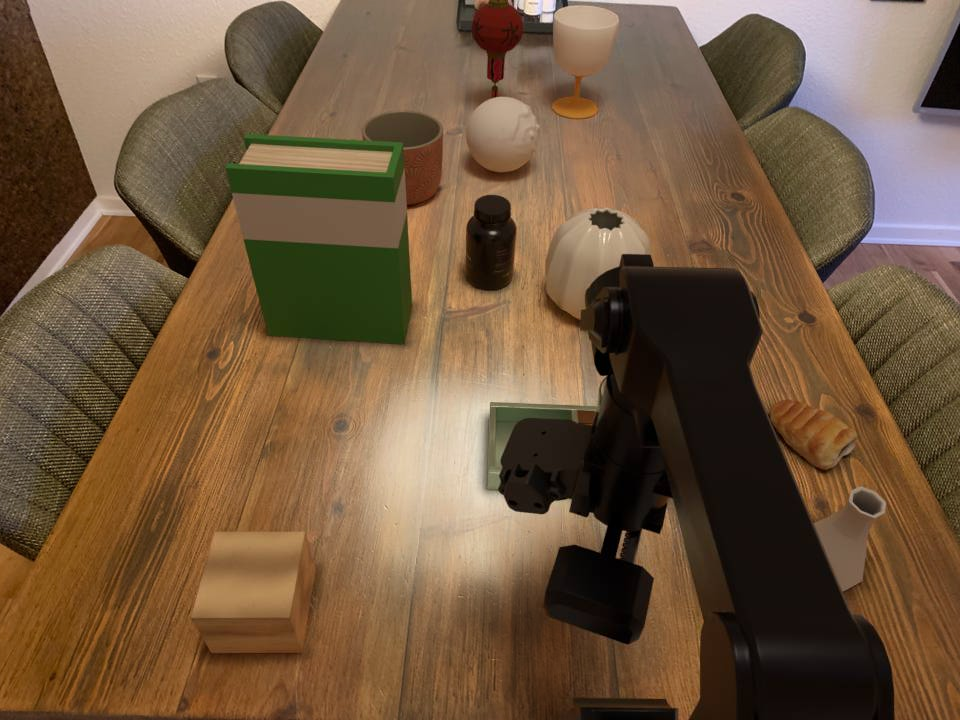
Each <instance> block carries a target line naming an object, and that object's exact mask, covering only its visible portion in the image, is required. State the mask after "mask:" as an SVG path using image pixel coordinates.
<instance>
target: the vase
mask: <svg viewBox="0 0 960 720" xmlns="http://www.w3.org/2000/svg"><path fill="white" fill-rule="evenodd" d="M651 245H652V244H651V241H650V239H649V236H648V234H647V233H646V232H645V231H644V230H643V229H642V228H641V225H640V223H639V222H638V221H637V220H636V219H635V218H633V217H632V216H630V215H628V214H627V213H625V212H624V211H621V210H618V209H614V208H612V207H607V206H602V207H592V208H586V209H583V210H580V211H577V212H575V213H572V214H571V215H570V216H569V218H568V219H567V220H566V221H565V222H563V223H561V224H560V225H559V227H558V228H557V229H556V230H555V232H554V234H553V236H552V238H551V240H550V243H549V247H548V249H547V253H546V256H545V264H544V274H545V275H544V276H545V278H546V282H545V291H546V294H547V295H548V296H549V298H550V299H551V300H552V302H554V303H555V304H556V306H558V307H559V308H560V309H561V310H562V311H565V312H566V313H568V314H569V315H571V316H572V317H574V318H575V319H577V320H579V321H581V310H584V309H586V307H585V293H586V290H587V288H589V287H590V285H591V283H592V282H593V281H594V280H595V279H596V278H597V277H598V276H600V275H601V274H603V273H604V272H606V271H608V270H611V269H613V268H616V267H619V265H620V260H621V255H622V254H650V255H651V256H652V246H651Z"/></svg>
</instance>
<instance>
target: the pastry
mask: <svg viewBox="0 0 960 720" xmlns="http://www.w3.org/2000/svg"><path fill="white" fill-rule="evenodd" d="M769 419H770V421H771V423H772V426H773V428H775V429H776V432H777V433H778V434H780V436H781V437H782V438H783V441H784V442H785V443H786V444H787V446H789V447H790V448H791V449H792V450H793V451H794V452H796V453H797V454H798V455H799V456H801V457H803V458H804V459H805V460H806V461H807V462H808V463H809V464H810V465H812V466H813V467H816V468H818V469H821V470H823V471H828V470H829V469H832V468H834V467H835V466H836V465H837V464H838V463H839V462H840V461H841V459H842V458H843V457H844V456H847V455H849V454H851V453H852V451H853V450H854V449H855V447H856V444H857V441H858V433H857V431H856V430H855V429H852V428H850V426H848V425H847V424H846V423H845V422H844V421H842V420H841V419H840V418H838V417H836V416H835V415H834V414H833V413H832V412H830V411H828V410H822V409H821V408H816V407H813V406H811V405H809V404H807V403H805V402H801V401H797V400H792V399H783V400H779V401H778V402H776V403H773V404H772V405H771V406H770V407H769Z"/></svg>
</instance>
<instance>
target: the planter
mask: <svg viewBox="0 0 960 720" xmlns="http://www.w3.org/2000/svg"><path fill="white" fill-rule="evenodd" d="M361 137H362V140H365V141H383V142H401V143H403V148H404V166H405V184H406V202H407V205H415V204H420V203H422V202H424V201H427V200H428V199H430V198H432V197H433V196H434V195H435V194H436V192H437V191H438V189H439V188H440V184H441V180H442V174H443V158H444V157H443V156H444V155H443V153H444V151H443V150H444V127H443V124H442V122H441V121H440V120H438V119H437V117H434V116H432V115H430V114H427V113H425V112H421V111H416V110H407V109H406V110H405V109H404V110H403V109H402V110H400V109H399V110H391V111H385V112H382V113H379V114H376V115H374V116H371V118H369V119H368V120H366V121H365V122H364V124H363V125H362V128H361Z"/></svg>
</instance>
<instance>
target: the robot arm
mask: <svg viewBox="0 0 960 720" xmlns="http://www.w3.org/2000/svg"><path fill="white" fill-rule="evenodd" d="M585 307H586V309H584V310H581V320H580V329H579V330H580V331H582V332H583V331H584V332H587V334H588V339H589V341H590V345H591V350H592V358H593V364H594V367H595V370H596V372H597V373H598V375H599V376H601V377H606V376H607V379H606V383H605V388H604V392H603V397H602V401H601V405H600V410H599V412H596V415H595V418H594V421H593V425H586V424H580V423H576V422H575V421H573V420H567V419H544V418H526V419H523V420H521V421H519V422H518V423H517V424H516V425H515V426H514V428H513V431H512V433H511V435H510V438H509V440H508V442H507V445H506V447H505V449H504V452H503V454H502V457H501V460H500V462H501V465H502V470H501V472H500V474H499V478H500V481H501V483H500V486H499V488H498V490H497V491H498V493H500V495H502V496H503V498H504V501H505V503H506V505H507V508H509V509H510V510H512V511H514V512H517V513H524V514H534V515H546V514H547V513H548V512H550V511H549V510H550V507H551V505H552V503H554V502H560V501H566V500H571V501H570V505H569V511H568V513H570V514H574V515H577V516H581V517H583V518H588V517H589V516H590V513H591V514H593V517H594V518H595V519H596V520H597V521H599V522H600V523H601V524H603V525H605V526H606V530H605V533H604V537H603V541H602V544H601V548H600V551H596V550H593V549H590V548H587V547H584V546H581V545H577V544H571V545H564V546H559V547H558V549H557V553H556V556H555V560H554V563H553V566H552V569H551V573H550V575H549V579H548V582H547V584H546V588H545V591H544V596H543V602H542V608H543V610H544V611H545V613H546V615H547V617H548V618H550V619H553V620H556V621H559V622H561V623H564V624H568V625H570V626H573V627H575V628H579V629H582V630H584V631H588V632H590V633H592V634H595V635H599V636H601V637H604V638H607V639H610V640H613V641H616V642H619V643H621V644H624V645H627V646H628V645H631V644H633V643H635V642H637V641H639V640H640V638H641V636H642V633H643V631H644V628H645V625H646V620H647V617H648V611H649V605H650V601H651V596H652V590H653V587H654V580H655V578H654V576H653V575H651V573H649V571H648V570H646V569H645V567H644V566H643V565H639V564H636V560H637V554H638V550H639V546H640V541H641V537H642V532H643V530H644V531H648V532H650V533H654V534H657V535H661V533H662V530H663V528H664V522H665V519H666V513H667V508H668V503H669V499H672V501H673V505H674V509H675V513H676V516H677V521H678V524H679V525H678V526H679V530H680V533H681V537H682V540H683V541H682V542H683V544H684V549H685V552H686V557H687V561H688V565H689V568H690V573H691V576H692V581H693V585H694V589H695V592H696V595H697V600H698V601H697V602H698V604H699V609H700V613H701V617H702V620H703V623H702V626H701V630H700V641H699V699H698V702H697V704H696V705H695V707H694V709H693V710H692V711H691V714H690V715H689V717H688V719H687V720H896V719H895V714H896V713H895V686H894V679H893V670H892V669H893V668H892V664H891V662H890V659H889V655H888V653H887V650H886V646H885V643H884V642H883V640H882V638H881V636H880V635H879V632H878V631H877V630H876V627H875V626H874V625H873V624H872V623H871V622H870V621H868V619H867V618H866V617H864V616H863V615H861V614H856V613H852V610H851V608H850V606H849V604H848V601H847V598H846V597H845V595H844V591H843V592H842V589H841V587H840V585H839V582H838V580H837V577H836V575H835V573H834V570H833V568H832V566H831V563H830V561H829V558H828V556H827V554H826V551H825V549H824V547H823V544H822V542H821V540H820V537H819V535H818V532H817V530H816V528H815V525H814V523H815V522H814V520H813V519H812V516H811V514H810V511H809V509H808V506H807V504H806V501H805V500H804V499H805V498H804V497H803V494H802V493H801V490H800V487H799V485H798V483H797V480H796V478H795V476H794V473H793V471H792V468H791V466H790V464H789V461H788V458H787V457H786V454H785V452H784V449H783V447H782V445H781V443H780V440H779V438H778V435H777V433H776V430H775V429H774V428H775V427H774V426H773V424H772V422H771V420H770V415H769V414H768V412H767V409H766V407H765V404H764V402H763V400H762V398H761V395H760V392H759V390H758V388H757V385H756V383H755V379H754V375H753V372H752V369H751V365H752V362H753V360H754V358H755V355H756V351H757V350H758V347H759V344H760V342H761V339H762V335H763V332H764V331H763V326H762V323H761V316H760V306H759V303H758V298H757V297H756V294H755V293H754V292H753V291H752V290H751V288H750V286H749V284H748V281H747V280H746V278H745V277H744V275H743V274H742V273H741V272H740V270H738V269H736V268H734V267H733V268H731V267H689V266H688V267H687V266H686V267H684V266H655V265H654V261H653V257H652V254H651V255H650V254H622V255H621V260H620V265H619V267H616V268H613V269H611V270H608V271H606V272H604V273H603V274H601V275H600V276H598V277H597V278H596V279H595V280H594V281H593V282H592V283H591V285H590V287H589V288H587V290H586V293H585ZM623 532H625V533H624V537H623V542H622V545H621V549H620V554H619V558H618V557H617V554H618V550H619V547H620V543H621V538H622V534H623ZM679 719H680V717H679V708H678V707H672V706H671V705H670V704H669V702H668V700H667V698H643V697H641V698H638V697H636V698H634V697H633V698H632V697H629V698H628V697H622V698H621V697H572V707H570V708H569V709H567V712H566V720H679Z"/></svg>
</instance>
